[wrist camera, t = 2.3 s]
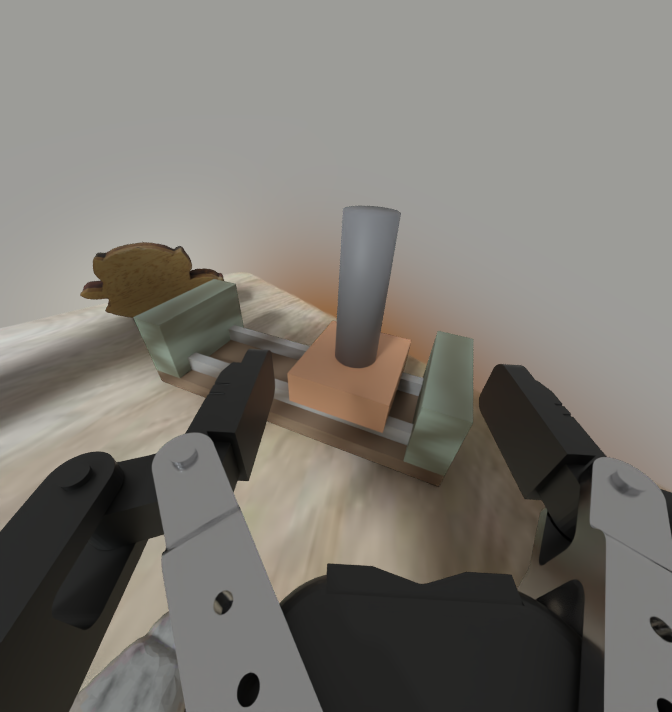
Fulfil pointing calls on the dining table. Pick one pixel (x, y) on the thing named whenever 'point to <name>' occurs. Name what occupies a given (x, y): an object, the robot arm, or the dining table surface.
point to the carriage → (356, 330)
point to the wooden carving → (143, 277)
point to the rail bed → (391, 448)
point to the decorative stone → (138, 677)
